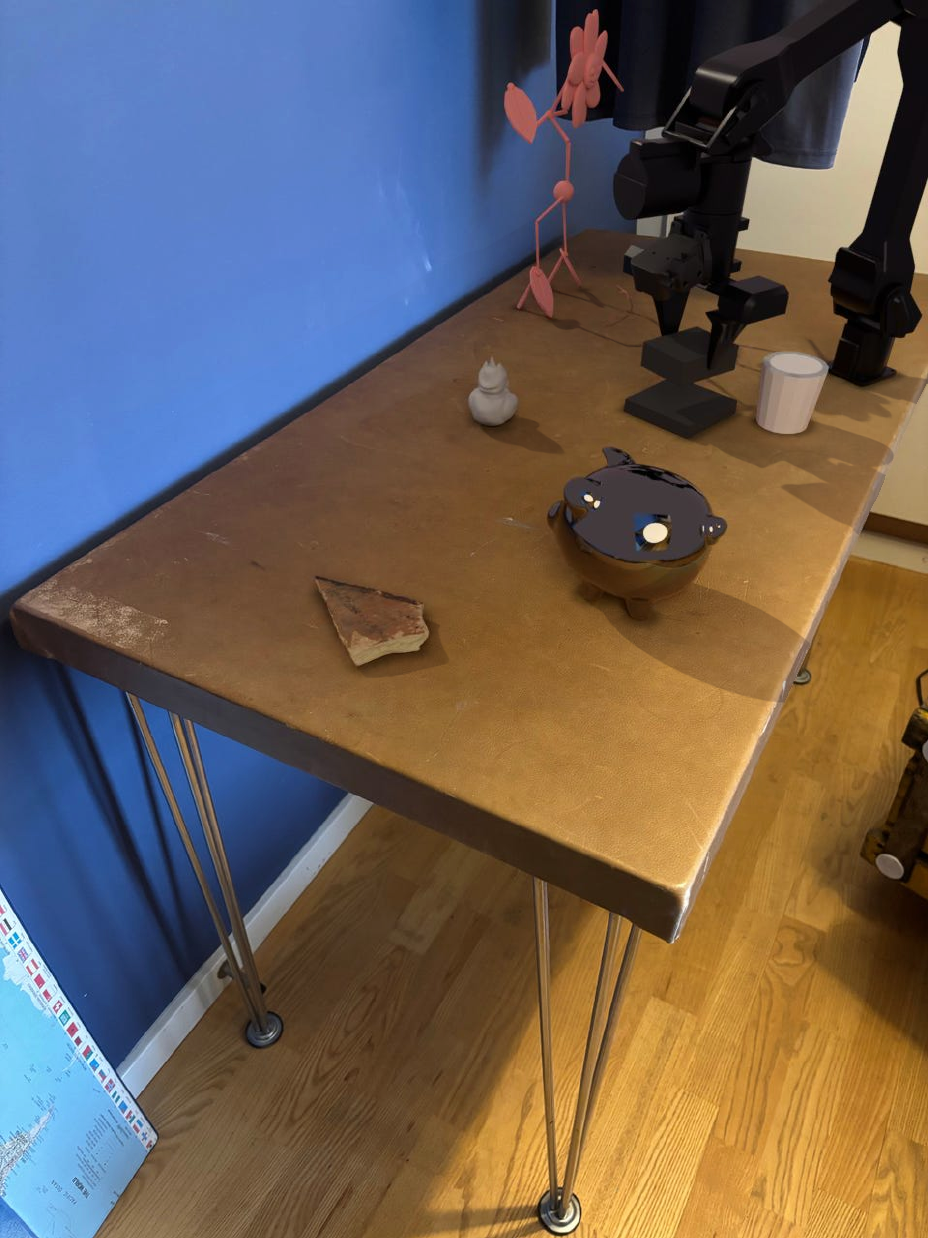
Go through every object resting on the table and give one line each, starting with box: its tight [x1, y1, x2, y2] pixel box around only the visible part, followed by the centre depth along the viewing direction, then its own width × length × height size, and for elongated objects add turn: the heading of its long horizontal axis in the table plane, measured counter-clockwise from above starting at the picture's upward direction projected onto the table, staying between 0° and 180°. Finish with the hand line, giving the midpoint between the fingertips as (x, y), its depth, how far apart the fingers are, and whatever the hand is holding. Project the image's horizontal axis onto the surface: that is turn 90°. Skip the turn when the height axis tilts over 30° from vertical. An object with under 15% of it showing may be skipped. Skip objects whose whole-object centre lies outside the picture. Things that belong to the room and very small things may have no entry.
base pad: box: [623, 379, 739, 440], centre depth 104 cm, size 9×9×2 cm
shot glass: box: [755, 350, 829, 435], centre depth 100 cm, size 7×7×7 cm
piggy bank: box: [546, 446, 728, 621], centre depth 75 cm, size 11×15×12 cm
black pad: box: [640, 326, 740, 387], centre depth 100 cm, size 8×6×3 cm
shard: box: [314, 575, 430, 667], centre depth 75 cm, size 11×8×2 cm
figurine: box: [493, 9, 633, 324], centre depth 118 cm, size 15×26×35 cm, turn 151°
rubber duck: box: [468, 355, 519, 427], centre depth 100 cm, size 5×7×8 cm
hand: (688, 357), depth 100 cm, fingers closed on black pad, 6 cm apart
